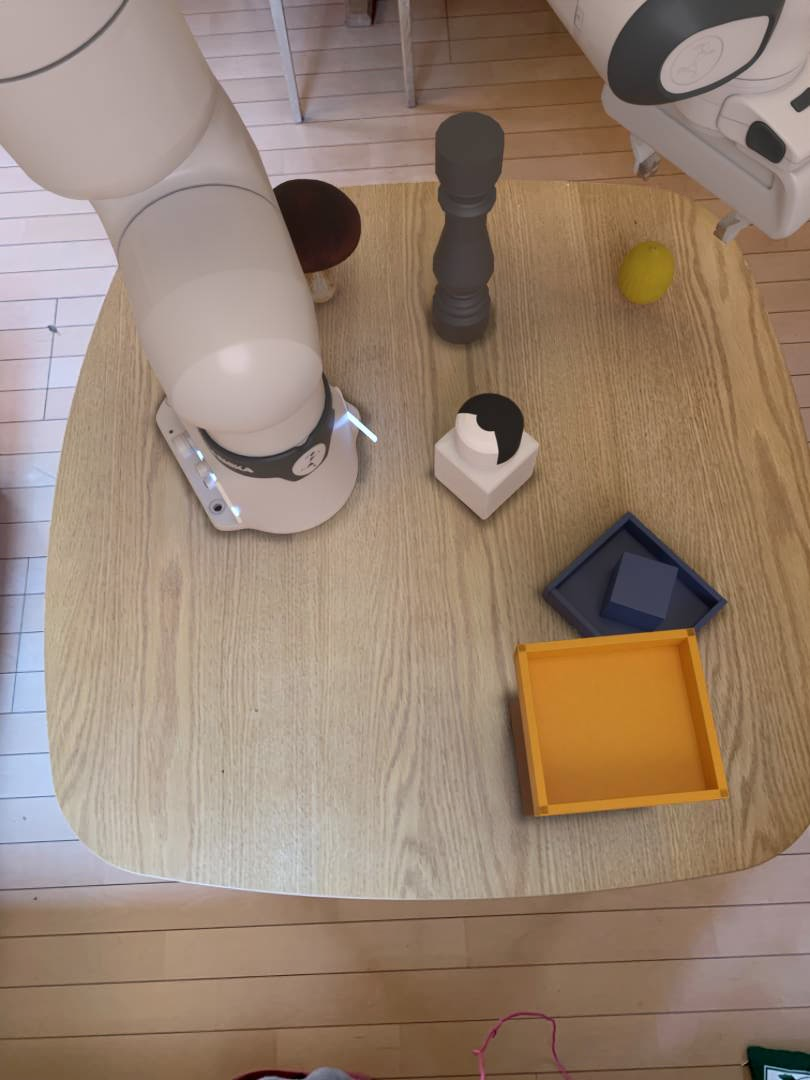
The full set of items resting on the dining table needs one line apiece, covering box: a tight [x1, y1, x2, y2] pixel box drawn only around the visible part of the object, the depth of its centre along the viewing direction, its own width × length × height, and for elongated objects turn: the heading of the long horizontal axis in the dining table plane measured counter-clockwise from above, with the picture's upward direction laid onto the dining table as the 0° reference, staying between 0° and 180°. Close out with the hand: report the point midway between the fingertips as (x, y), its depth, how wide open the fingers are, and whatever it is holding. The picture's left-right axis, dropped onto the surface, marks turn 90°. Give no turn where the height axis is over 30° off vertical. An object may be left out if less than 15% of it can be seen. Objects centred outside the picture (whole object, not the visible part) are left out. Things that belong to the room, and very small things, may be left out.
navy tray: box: [541, 510, 729, 638], centre depth 79 cm, size 12×11×3 cm
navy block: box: [600, 551, 678, 632], centre depth 78 cm, size 5×5×5 cm
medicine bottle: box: [433, 392, 540, 521], centre depth 80 cm, size 7×7×12 cm
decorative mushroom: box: [272, 178, 362, 304], centre depth 87 cm, size 11×11×15 cm
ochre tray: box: [508, 628, 730, 818], centre depth 66 cm, size 12×11×21 cm
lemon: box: [617, 240, 675, 305], centre depth 89 cm, size 6×6×8 cm
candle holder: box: [431, 111, 505, 345], centre depth 80 cm, size 6×6×25 cm
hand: (683, 204), depth 75 cm, fingers open, 8 cm apart
